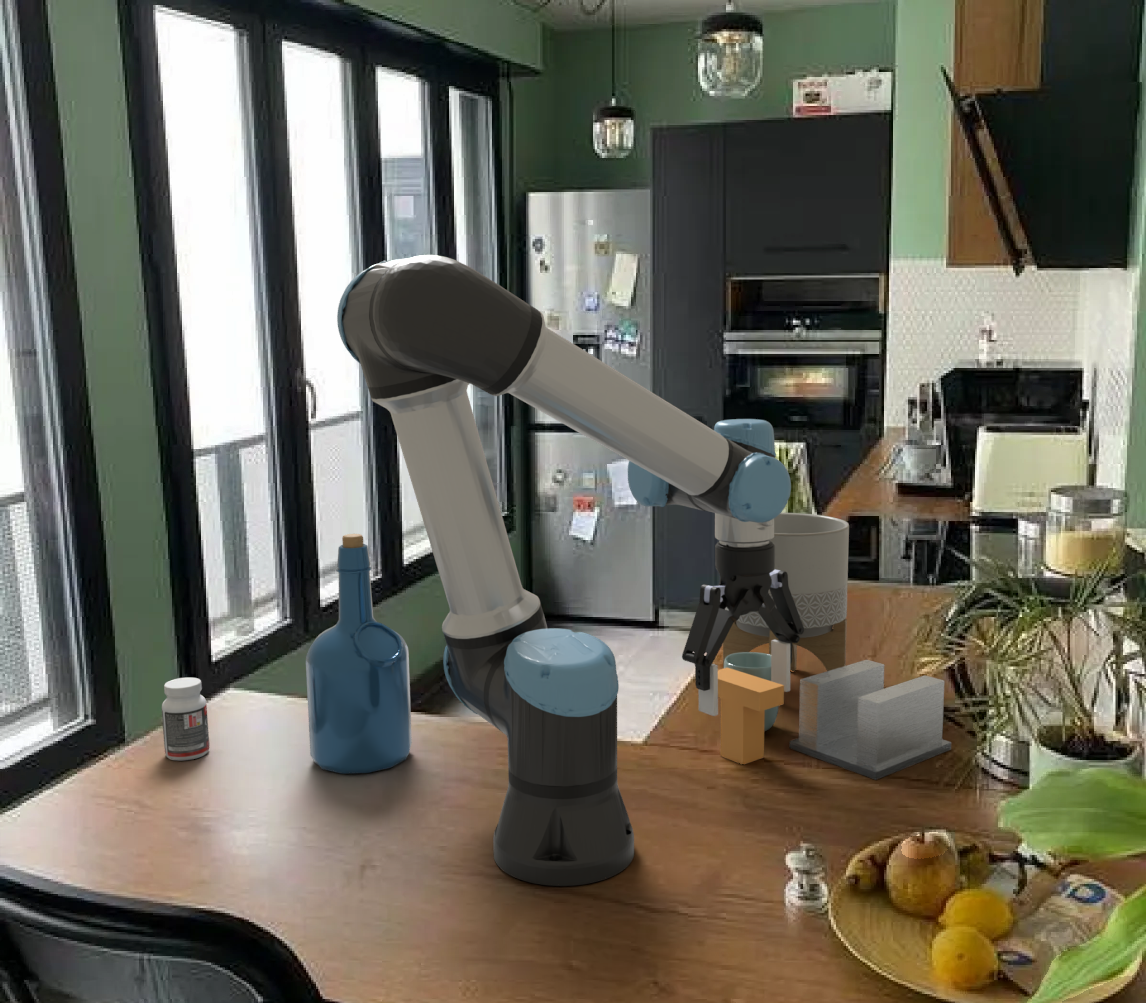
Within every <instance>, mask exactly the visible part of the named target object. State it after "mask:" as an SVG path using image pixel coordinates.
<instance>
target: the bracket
mask: <svg viewBox="0 0 1146 1003" xmlns="http://www.w3.org/2000/svg"><path fill="white" fill-rule="evenodd" d="M884 685H885V664H884V663H881V662H876V661H873V660H870V659H865V660H860V661H858V662H853V663H851V664H848V665H846V666H843V667H840V668H837V669H833V670H830V671H827V670H826V671H823V672H821V673H817V674H814V675H810V676H807V677H804V678H800V680H799V715H798V716H799V718H798V719H799V720H798V724H799V725H798V738H794V739H791V740H789V746H788V747H789V749H790V750H794V751H797V752H799V753H802V754H804V755H807V756H810V757H813V758H815V759H818V760H820V761H824V762H826V763H828V764H830V765H833V766H836V767H840V768H842V769H845V770H848V771H850V772H852V773H853V772H854V773H856V774H858V775H861V776H863V777H864V776H865V777H867V778H870V779H872V780H875V781H878V780H880V779H882V778H884V777H887V776H889V775H892V774H895V773H896V772H899V771H901V770H904V769H907V768H909V767H911V766H914V765H917V764H919V763H921V762H924V761H926V760H929V759H931V758H933V757H936V756H938V755H941V754H944V753H945V752H948V751H951V750H952V742H951V741H949V740H946V739H943V730H944V729H943V728H944V726H943V724H944V702H945V701H944V700H945V698H944V697H945V679H944V680H943V679H940V678H936V677H933V676H929V675H922V676H919V677H916V678H913V679H910V680H907V681H903V682H901V683H898V684H894V685H892V686H888V687H885V686H884ZM884 687H885V688H884Z"/></svg>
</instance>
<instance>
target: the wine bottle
mask: <svg viewBox="0 0 1146 1003" xmlns="http://www.w3.org/2000/svg"><path fill="white" fill-rule="evenodd" d="M341 542H342V544H341V545H339V546H338V551H337V565H336V572H337V573H338V620H337V622H336V624H335V625H333V626H331V627H329V628H327V629H325V630H324V631H322V632H321V633H319V634H318V636H316V637H315V639H314V641H313V642H312V644H310V647H309V648H308V651H307V653H306V655H305V671H306V674H305V675H306V689H307V690H306V694H307V716H308V731H309V732H308V733H309V734H308V735H309V736H308V738H309V753H310V755H309V756H310V757H311V759H312V760H313V763H315V764H316V765H317V766H318V767H319V768H320V769H322V770H325V771H329V772H334V773H339V774H344V775H345V774H369V773H372V772H377V771H381V770H387V769H390V768H394V767H395V766H397V765H399V764H400V763H402V762H403V761H406V760H407V758H408V755H409V753H410V751H411V747H412V743H413V742H412V740H413V739H412V714H411V713H412V712H411V686H410V684H411V682H410V681H411V680H410V659H409V656H410V655H409V647H408V645H407V642H406V640H405V639H404V638H403V636H402V635H401V634H399V633H398V632H397V631H395V630H394V629H393V628H390V627H389V626H387V625H385V624H384V623H381V622H378V621H377V620H376V619H375V617H374V609H373V597H372V585H371V570H372V568H373V567H372V566H371V558H370V553H369V547H368V545H367V544H365V543H364V537H363V535H362V534H361V533H347V534H345V535H342V540H341Z"/></svg>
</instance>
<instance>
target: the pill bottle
mask: <svg viewBox="0 0 1146 1003" xmlns="http://www.w3.org/2000/svg"><path fill="white" fill-rule="evenodd" d="M163 687H164V688H163V689H164V695H165V696H166V698H165V699H164V701H163V702H162V703H161V717H162V718H161V719H162V730H163V733H162V734H163V745H164V748H163V749H164V755H165V757H166V758H168V759H169V760H172V761H179V762H180V761H191V760H194V759H195V760H197V759H199V758H202V757H203V756H205V755H206V754H208V752H209V750H210V737H209V736H210V735H209V722H208V721H209V720H208V719H209V718H208V707H207V706H208V705H207V704H208V703H207V700H206V698H205V697H204V696H203V695H202V694H201V691H202V689H203V686H202V680H201V679H200V678H197V677H178V678H174V679H172V680H169V681H166V682H165V683H164V685H163Z"/></svg>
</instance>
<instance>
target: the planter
mask: <svg viewBox="0 0 1146 1003" xmlns="http://www.w3.org/2000/svg"><path fill="white" fill-rule="evenodd" d="M849 535H850V525H849V522H848V521H846V520H844V519H842V518H841V519H840V518H836V517H834V516H828V515H821V514H814V513H813V514H812V513H801V512H800V513H798V512H781V513H780V514H779V515H778V516H777V517H775V518H774V538H772V539H771V540H770V541H771V542H772V543H773V544H774V545H775V568H774V569H776V570H781V571H785V572H787V574H788V586H789V589H790V592H791V595H792V597H793V600H794V603H795V605H796V608H797V611H798V613H799V616H800V619H801V621H802V624H803V627H804V632H803V634H801V635H800V634H798V635H799V637H800V639H799V642H798V643H793V642H792V663H791V664H790V670H792V671H795V670H796V671H797V662H798V660H797V658H798V656H797V655H798V653H797V652H798V651H797V650H798V649H797V648H798V646H799V647H801V648H803V649H805V650H808V651H809V652H810V653H812V654H813V655H814V656H815V657H816V658H818V660H819V661H820V662H821V664H822V665H823V666H824V667H825V670H826V672H827V671H830V670H833V669H837V668H840V667H843V666H847V665H846V664H847V660H846V659H847V629H848V628H847V627H848V626H847V624H848V619H847V614H848V610H847V609H848V580H849V579H848V578H849V576H848V573H849V542H850V541H849V540H850V539H849V537H850V536H849ZM768 593H769V595H770V596H771V598H772V595H771V592H770V589H769V591H768ZM772 599H773V598H772ZM773 601H774V600H773ZM775 607H776V605H775ZM725 610H728V609H727V607H726V608H725ZM792 624H793V623H792ZM771 640H778V638H776V636H775V635H774V634H773V632H772V631H771V629H770V628H769V627H768V625H767V624H766V622H765V621H764V620H763V618H762V617H761V615H760V614H759V613H758V611H757V612H749V613H748V614H746V615H741V616H740V617H739V619H738V620H737V621H735V622H734V623H733V625H732V627H731V628H730V630H729V632H728V634H727V636H726V638H725V640H724V642H723V644H722V669H724V660H725V658H726V657H727V656H728V655H730V654H733V653H740V652H751V651H752V650H754V649H756V648H758V647H760V646H764V645H766V644H769V646H768V654H770V655H771ZM796 671H795V672H796Z"/></svg>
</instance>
